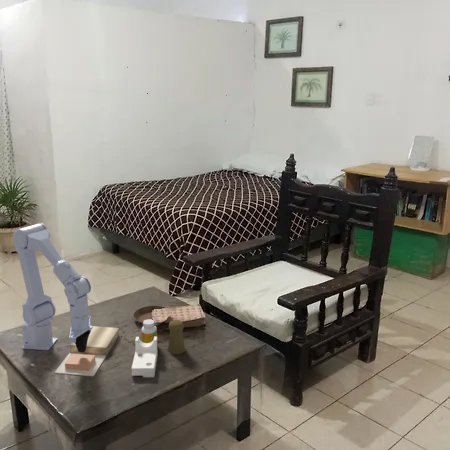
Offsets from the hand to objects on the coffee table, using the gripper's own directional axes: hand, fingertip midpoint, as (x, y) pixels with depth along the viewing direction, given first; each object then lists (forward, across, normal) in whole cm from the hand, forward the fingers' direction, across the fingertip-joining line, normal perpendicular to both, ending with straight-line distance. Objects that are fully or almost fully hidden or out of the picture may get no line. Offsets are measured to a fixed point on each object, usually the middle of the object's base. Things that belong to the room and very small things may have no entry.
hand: (82, 351), depth 164 cm
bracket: (+5, +1, -21) cm, 22 cm away
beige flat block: (+4, +12, 0) cm, 13 cm away
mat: (+4, -2, 0) cm, 4 cm away
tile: (+3, -2, 0) cm, 4 cm away
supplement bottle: (+4, +13, -20) cm, 24 cm away
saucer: (+5, +33, -16) cm, 37 cm away
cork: (+4, +12, -30) cm, 32 cm away
